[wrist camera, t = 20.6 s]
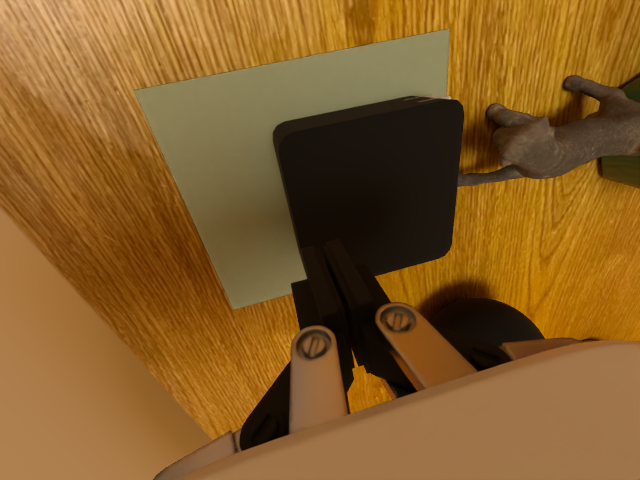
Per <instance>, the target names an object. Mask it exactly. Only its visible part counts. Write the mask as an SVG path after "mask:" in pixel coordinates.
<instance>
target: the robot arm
mask: <svg viewBox="0 0 640 480" xmlns="http://www.w3.org/2000/svg"><path fill="white" fill-rule="evenodd" d="M322 249H323V254H324V259H325V261H324V259H323V257H322V254H321V252H320V249H319V248H315V249H314V247H313V246H309V247H305V248H301V254H302V258H303V262H304V266H305V270H306V274H307V278H308V279H305V280H301V281H297V282H294V283H291V288H292V293H293V298H294V303H295V308H296V312H297V317H298V322H299V327H300V331H299V332H298V333H297V334H296V335H295V337H294V339H293V340H292V344H291V360H290V362H289V363H288V364H287V366H286V367H285V368H284V370H283V371H282V372H281V374H280V375H279V377H278V378H277V379H276V381H275V382H274V383H273V385H272V386H271V387H270V389H269V390H268V391H267V393H266V394H265V395H264V397H263V398H262V399H261V401H260V402H259V403H258V405H257V406H256V407H255V409H254V410H253V411H252V413H251V414H250V415H249V417H248V418H247V420H246V421H245V423H244V425H243V426H242V428H241V429H239V430H237V431H236V432H234V433H232V431H231V430H230V431H229V432H227V433H225V434H224V435H222V436H220V437H218V438H217V439H215V440H213V441H212V442H210V443H208V444H206V445H205V446H203V447H201V448H199V449H197V450H196V451H194V452H192V453H191V454H189V455H187V456H185V457H184V458H182V459H180V460H178V461H177V462H175V463H173V464H171V465H170V466H168V467H166V468H165V469H164V470H162V471H161V472H160V473H158V474H157V475H156V476H155V478H154V479H153V480H640V341H622V340H605V341H591V342H583V341H580V340H577V339H573V338H552V339H541V340H529V341H518V342H506V343H502V346H499V347H497V346H496V345H494V344H491V343H489V342H486V341H483V340H480V339H477V338H473V337H470V336H467V335H463V334H460V333H457V332H454V331H450V330H447V329H444V328H440V327H437V326H434V325H431V324H430V323H429V322H428V321H427V320H426V319H425V318H424V317H423V316H422V315H421V314H420V313H419V312H418V311H417V310H416V309H415V308H413V307H412V306H410V305H408V304H406V303H401V302H391V301H390V300H389V298H388V297H387V295H386V294H385V292H384V291H383V289H382V287H381V286H380V284H379V283H378V281H377V280H376V278H375V277H374V275H373V274H372V272H371V270H370V269H369V267H368V266H367V265H366V264H365V263H363V264H359V265H356V266H354V264H353V262H352V260H351V259H350V257H349V255H348V253H347V252H346V250H345V248H344V246H343V245H342V243H341V241H340V240H339V239H336V240H332V241H328V242H326V246H322ZM351 348H352V349H351ZM352 351H353V353H354V356H355V359H356V361H357V364H358V366H362V365H364V367H365V370H366V372H367V374H368V373H371V374H373V375H375V376H377V377H380V378H381V381H382V383H383V385H384V387H385V388H386V390H387V392H388V393H389V395H390V396H391V398H392V400H391V401H388V402H385V403H382V404H379V405H376V406H373V407H370V408H367V409H364V410H361V411H358V412H355V413H352V414H350V407H349V401H348V395H347V392H348V390H349V388H350V386H351V384H352V382H353V380H354V377H353V371H352V369H353V368H355V367H354V361H353V355H352Z"/></svg>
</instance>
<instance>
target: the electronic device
mask: <svg viewBox="0 0 640 480" xmlns="http://www.w3.org/2000/svg"><path fill="white" fill-rule="evenodd" d="M463 122H464V110H463V106H462V105H461V103H460V102H459V101H458V100H452V99H451V97H450V96H444V97H439V98H434V95H431V94H430V95H425V96H421V97H420V96H406V97H402V98H397V99H392V100H387V101H382V102H377V103H372V104H367V105H362V106H358V107H353V108H348V109H343V110H338V111H333V112H328V113H323V114H318V115H314V116H309V117H304V118H299V119H294V120H289V121H284V122H282V123H280V124H279V125H277V126H276V128H275V130H274V131H273V145H274V149H275V153H276V157H277V161H278V166H279V170H280V174H281V178H282V183H283V187H284V191H285V195H286V199H287V204H288V208H289V212H290V216H291V221H292V225H293V229H294V233H295V237H296V242H297V246H298V250H299V254H300V257H301V260H302V264H303V267H304V270H305V266H304V262H303V258H302V254H301V248H305V247H309V246H313V247H314V249H315V248H319V249H320V252H321V254H322V257H323V259H324V254H323V249H322V246H326V242H328V241H332V240H336V239H339V240H340V241H341V243H342V245H343V246H344V248H345V250H346V252H347V253H348V255H349V257H350V259H351V260H352V262H353V264H354V266H356V265H359V264H363V263H365V264H366V265H367V266H368V267H369V269H370V270H371V272H372V274H373V275H374V276H377V275H381V274H384V273H388V272H392V271H395V270H399V269H403V268H406V267H410V266H414V265H417V264H421V263H424V262H428V261H432V260H435V259H439V258H441V257H443V256H445V255H446V253H447V252H448V251H449V250H450V247H451V245H452V236H453V226H454V216H455V205H456V195H457V184H458V174H459V164H460V153H461V143H462V133H463ZM324 261H325V259H324ZM305 273H306V270H305ZM306 277H307V274H306ZM307 279H308V278H307Z"/></svg>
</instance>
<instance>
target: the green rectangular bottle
mask: <svg viewBox="0 0 640 480" xmlns="http://www.w3.org/2000/svg"><path fill="white" fill-rule="evenodd" d="M621 90H623V92H624V93H625V95H626V97H627V98H628V99H630V100H633V101H635V102H638V103H640V77H638V78H637V79H635V80H634V81H632V82H631V83H629V84H628V85H626V86H625V87H623V88H622V89H621ZM601 163H602V174H603V175H604V176H605V178H606V179H608V180H611V181H614V182H618V183H622V184H625V185H629V186H633V187H636V188H640V156H624V155H618V156H602V157H601Z"/></svg>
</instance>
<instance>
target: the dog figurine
mask: <svg viewBox="0 0 640 480" xmlns="http://www.w3.org/2000/svg"><path fill="white" fill-rule="evenodd" d="M565 88H566V89H568V90H570V91H576V92H580V93H583V94H585V95H588V96H590V97H593V98H595V99H597V100H598V101H600V106H599V111H598V112H595V113H592V114H589V115H588V116H587V117H586V118H585V119H581V120H576V121H572V122H569V123H566V124H564V125H561V126H558V127H554V126H550V125H549V121H548V118H547V117H540V118H537V117H534V116H531V115H530V114H526V113H522V112H517V111H512V110H509V109H507V108H505V107H504V106H503V105H501V104H493V105H492V106H491V107H490V108H489V109H488V111H487V117H488V118H491V119H494V121H495V122H496V123H497V124H499V125H500V126H503V127H506V128H499V129H497V130H496V131H495V132H494V134H493V136H492V138H493V141H494V144H495V145H496V146H497V149H498V150H499V151H500V152H501V153H500V162H501V164H502V166H505V167H504V168H502V169H499V170H497V171H494V172H490V173H468V174H462V173H459V174H458V184H457V187H459V186H474V185H478V184H483V183H490V182H500V181H505V180H509V179H516V178H523V177H528V178H532V179H545V178H553V177H557V176H561V175H563V174H565V173H567V172H569V171H571V170H573V169H574V168H576V167H577V166H580V165H583V164H585V163H588V162H590V161H592V160H594V159H597V158H599V157H602V156H618V155H624V156H640V103H638V102H635V101H633V100H630V99H628V98H627V97H626V95H625V93H624V92H623V90H621V89H619V88H615V87H609V86H604V85H601V84H599V83H596V82H594V81H592V80H588V79H584V78H582V77H580V76H577V75H572V76H570V77H568V78H567V79H566V81H565Z"/></svg>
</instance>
